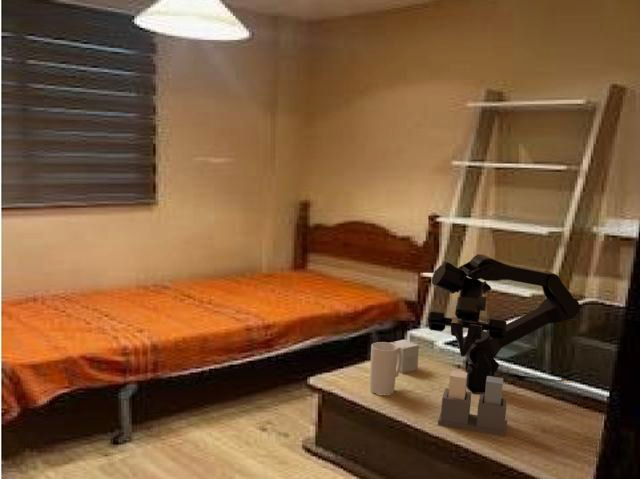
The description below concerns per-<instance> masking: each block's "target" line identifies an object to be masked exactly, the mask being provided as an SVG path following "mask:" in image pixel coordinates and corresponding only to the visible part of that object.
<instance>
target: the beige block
mask: <svg viewBox="0 0 640 479" xmlns="http://www.w3.org/2000/svg"><path fill="white" fill-rule="evenodd" d="M466 385H467V373H466V371H465V372H463V371H458V370H451V371H450V374H449V382H448V389H449V394H448V397H450V398H456V399H462V400H465V397H466V391H467V387H466Z"/></svg>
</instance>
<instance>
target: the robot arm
mask: <svg viewBox="0 0 640 479" xmlns="http://www.w3.org/2000/svg"><path fill="white" fill-rule="evenodd" d="M481 280H483V281H481ZM506 280H507V281H508V280H509V281H512V282H513V281H514V282H519V283H525V284H529V285H534V286H539V287H540V286H541V287H542V291H543V294H544V296H545V299H544V300H542V302H541V303H540V305H539V307H537V308H536V309H533V310H531V311H530V312H528V313H526V314H524V315H523V316H520V317H518V318H516V319H515V320H513V321H511V322H509V323H508V322H507V320H506V319H504V318H496V317H489V322H486V321H480V318H481V311H482V312H486V309H487V300H488V298H487V296H483V295H484V294H486V293H488V292H489V291H491V290H492V287H491V285H489V284H488V283H487V282H489V281H490V282H492V281H493V282H496V281H497V282H499V281H506ZM431 284H432V285H433V286H435V287H437V288H439V289H441V290H443V291H446V292H448V293H450V294H453V295H454V294H455V293H459V296H457V300H456V301H457V302H456V306H455V311H454V314H455V315H454V316H455V317H454V316H452V317H446V311H439V310H430V311H429V313H428V316H427V323H428V329H429V330H430V331H435V332H443V331H444V330H445V329H446V327H447V326H448V327H450V335H451V336H453V337H455V339H456V342H457V344H458V348H459V354H460V357H465V358H466V360H467V361H468V362H469V363H468V364H467V369H466V370H465V373H467V385H466V389H468V390H469V392H471V394H485V388H486V379H487V376H492V377H495V375H496V374H495V373H497V371H498V369H499V367H500V363H499V362H498V361H497V360H496V359H495V357H496V356H498V353H499V352H500V351H501V349H502V348H504V347H506V346H508V345H510V344H512V343H514V342H516V341H518V340H519V339H522V338H523V337H525V336H527V335H529V334H532V333H534V332H535V331H537V330H539V329H541V328H543V327H545V326H547V325H550V324H556V323H564V322H567V321H570V320H571V321H572V320H574V319H575V318H576V317H579V316H578V315H579V312H580V309H581V305H580V302H579V300H577V299H576V298H574V296H573V295H572V293H571V292H570V291H569V290H568V289H567V287H566V286H565V285H564V283H563V281H562V280H561V278H560V276H559V275H558V274H556V273H553V272H551V271H548V270H539V269H535V268H529V267H525V266H521V265H520V266H518V265H514V264H508V263H505V262H504V261H503V262H502V261H500V260H497V259H495V258H493V257H490V256H488V255H485V254H476V255H474V256H473V257H472V258H471V260H470V261H468V262H465V263H463V265H461V266H459V267H457V266H455V265H453V264H452V263H450V262H448V261H447V260H444V261H443V263H442V264H441V265H439V266H438V267H437V268H436V269H435V270H434V272H433V274H432V278H431ZM464 329H467V333H466V337H465V338H464ZM486 331H487V332H486Z"/></svg>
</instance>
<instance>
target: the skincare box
mask: <svg viewBox="0 0 640 479" xmlns="http://www.w3.org/2000/svg"><path fill="white" fill-rule="evenodd" d="M389 343H392V344H395V345H397V346H399V347H400V350H401V353H402V364H401V368H400V372H399V373H401V374H405V373H410V372H413V371H417V370H418V368H419V353H420V352H419V349H420V345H419V344H416V343H414V342H412V341H409V340H407V339H400V340H396V341H391V342H389ZM397 364H398V355H397ZM396 367H397V365H396Z"/></svg>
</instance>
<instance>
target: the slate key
mask: <svg viewBox="0 0 640 479" xmlns="http://www.w3.org/2000/svg"><path fill="white" fill-rule="evenodd" d="M503 386H504V378H502V377H497V376H494V377H492V376H487V379H486V388H485V393H484V394H485V399H484V403H486V404H492V405H499V406H501V398H502V397H503V396H502V395H503Z"/></svg>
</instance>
